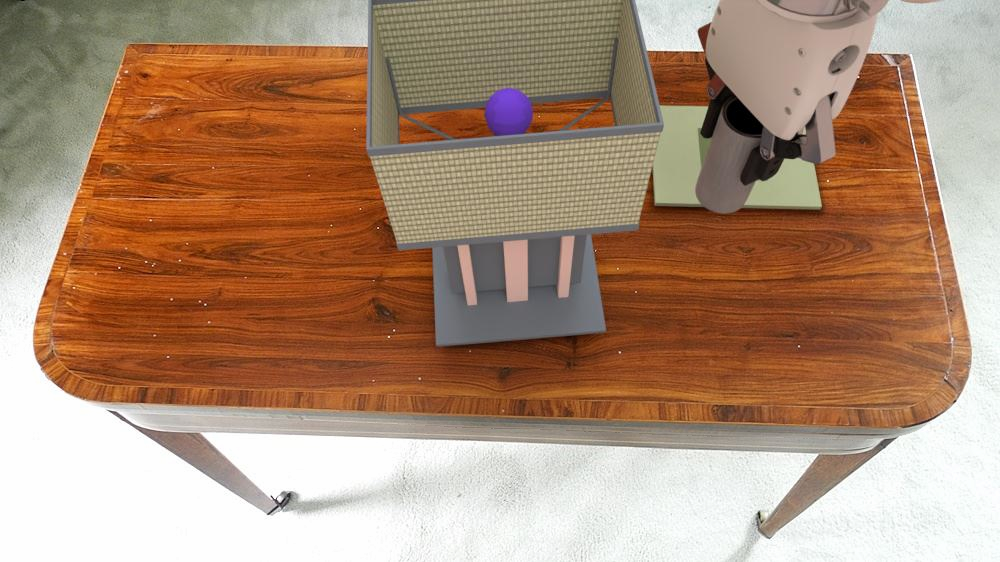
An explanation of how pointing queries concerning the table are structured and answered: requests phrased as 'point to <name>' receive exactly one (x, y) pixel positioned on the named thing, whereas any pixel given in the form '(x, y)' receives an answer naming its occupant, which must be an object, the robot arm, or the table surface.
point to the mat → (686, 154)
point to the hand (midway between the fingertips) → (737, 151)
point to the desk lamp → (511, 154)
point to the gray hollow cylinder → (728, 158)
